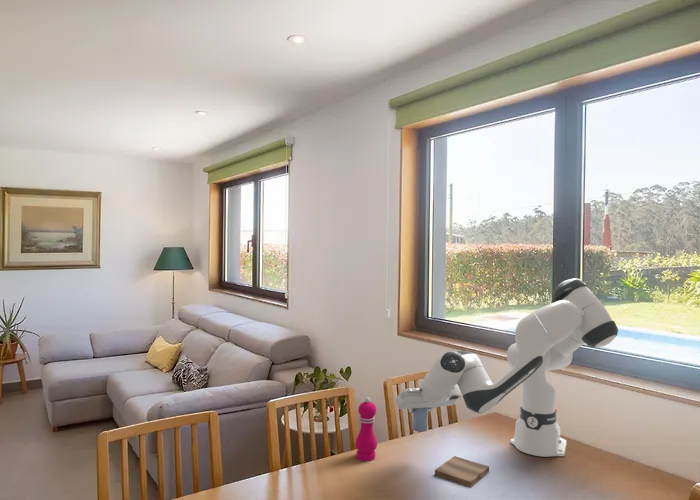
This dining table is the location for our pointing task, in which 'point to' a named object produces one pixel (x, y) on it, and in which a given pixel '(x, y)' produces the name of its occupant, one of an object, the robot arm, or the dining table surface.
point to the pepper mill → (366, 432)
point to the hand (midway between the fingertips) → (419, 409)
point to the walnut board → (462, 471)
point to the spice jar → (420, 419)
